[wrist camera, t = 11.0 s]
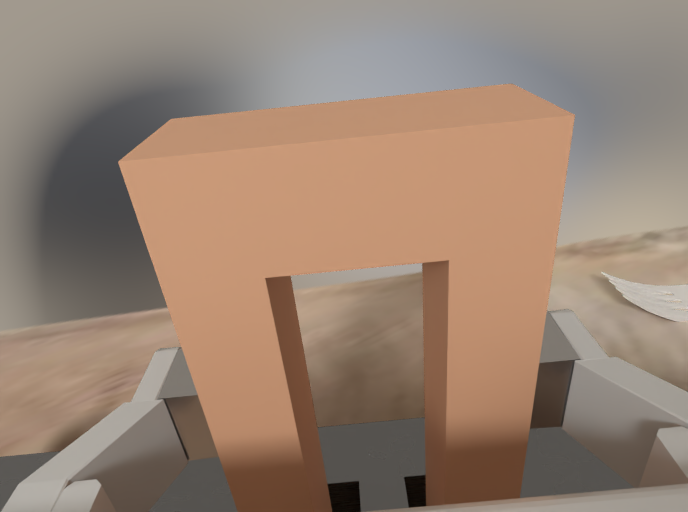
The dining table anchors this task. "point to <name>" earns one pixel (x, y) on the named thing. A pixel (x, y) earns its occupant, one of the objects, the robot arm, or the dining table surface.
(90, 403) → the dining table surface
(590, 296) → the dining table surface
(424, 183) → the clip
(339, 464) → the rail
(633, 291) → the fork
